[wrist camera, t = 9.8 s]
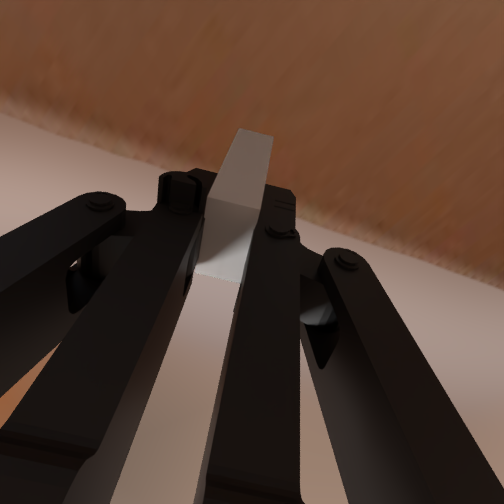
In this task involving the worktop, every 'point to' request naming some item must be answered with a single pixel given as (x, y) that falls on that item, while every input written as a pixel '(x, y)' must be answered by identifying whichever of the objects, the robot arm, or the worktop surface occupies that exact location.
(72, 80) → the worktop surface
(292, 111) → the worktop surface
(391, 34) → the worktop surface
